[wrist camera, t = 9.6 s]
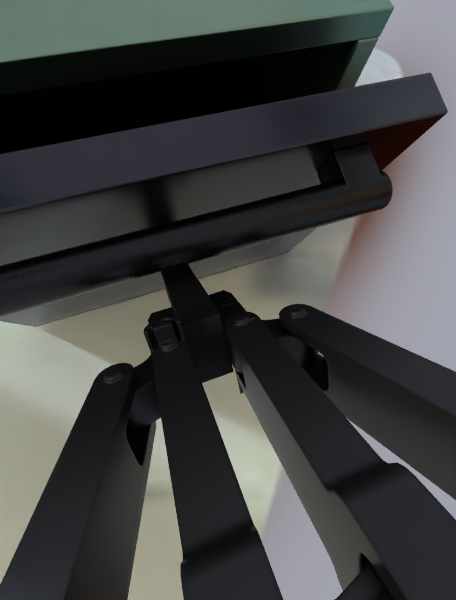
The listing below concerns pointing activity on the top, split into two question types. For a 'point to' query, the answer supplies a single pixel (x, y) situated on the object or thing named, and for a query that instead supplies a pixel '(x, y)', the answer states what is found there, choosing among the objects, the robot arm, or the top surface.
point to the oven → (169, 60)
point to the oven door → (195, 194)
